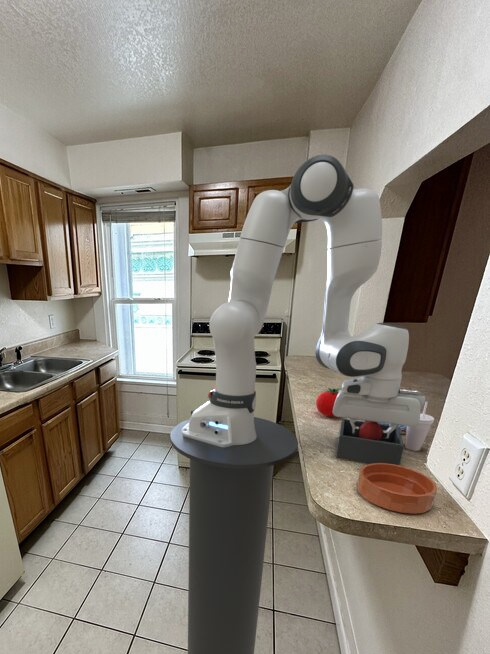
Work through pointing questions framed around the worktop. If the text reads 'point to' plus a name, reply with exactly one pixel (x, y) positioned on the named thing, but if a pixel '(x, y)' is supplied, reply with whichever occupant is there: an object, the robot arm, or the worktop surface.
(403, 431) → the woven mat
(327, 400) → the tomato
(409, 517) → the worktop surface
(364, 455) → the bin
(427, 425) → the smoothie
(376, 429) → the pomegranate
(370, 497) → the bowl
